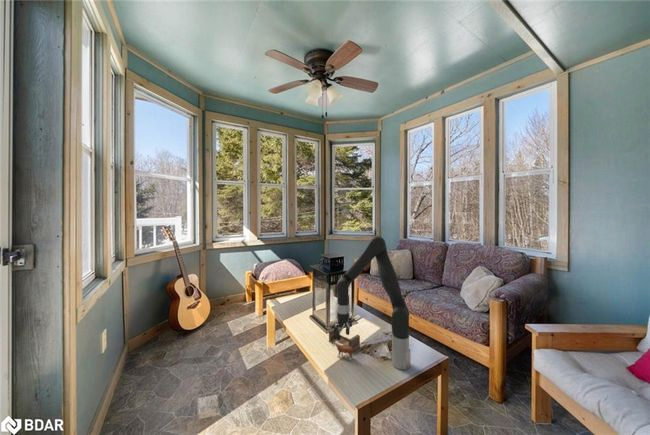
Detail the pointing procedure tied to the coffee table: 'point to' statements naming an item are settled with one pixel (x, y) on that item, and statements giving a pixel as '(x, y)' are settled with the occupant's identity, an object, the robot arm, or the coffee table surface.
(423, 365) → the coffee table surface
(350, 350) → the bull figurine
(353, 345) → the keeper cradle
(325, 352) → the coffee table surface
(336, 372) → the coffee table surface
